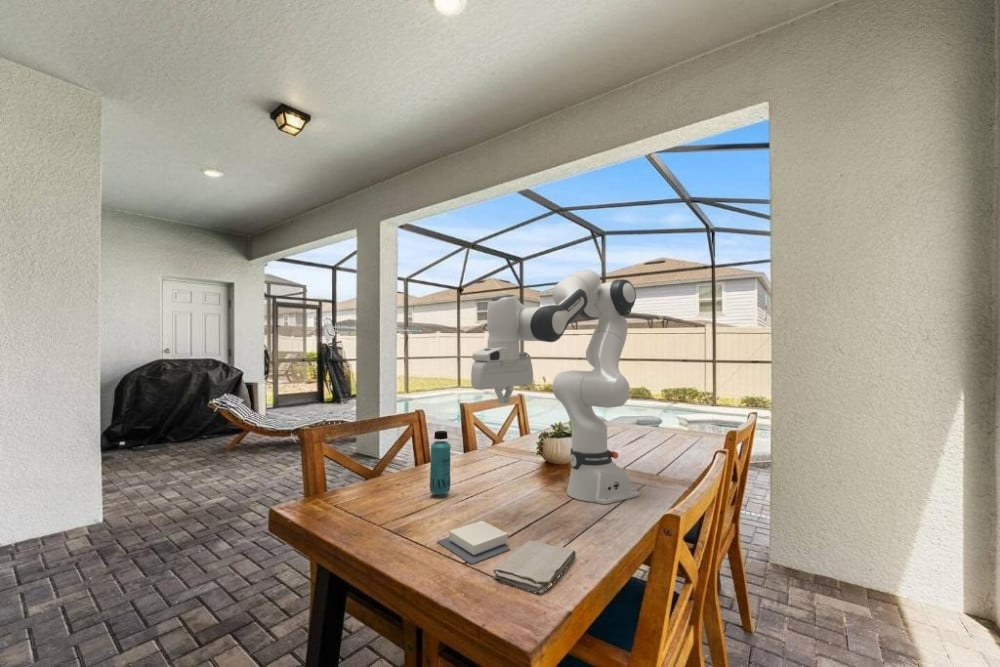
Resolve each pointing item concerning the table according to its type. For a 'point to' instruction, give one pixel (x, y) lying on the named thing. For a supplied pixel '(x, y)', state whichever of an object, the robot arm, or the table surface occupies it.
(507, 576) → the washcloth
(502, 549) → the mat
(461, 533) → the tile
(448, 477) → the beverage bottle
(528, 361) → the robot arm
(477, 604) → the table surface
